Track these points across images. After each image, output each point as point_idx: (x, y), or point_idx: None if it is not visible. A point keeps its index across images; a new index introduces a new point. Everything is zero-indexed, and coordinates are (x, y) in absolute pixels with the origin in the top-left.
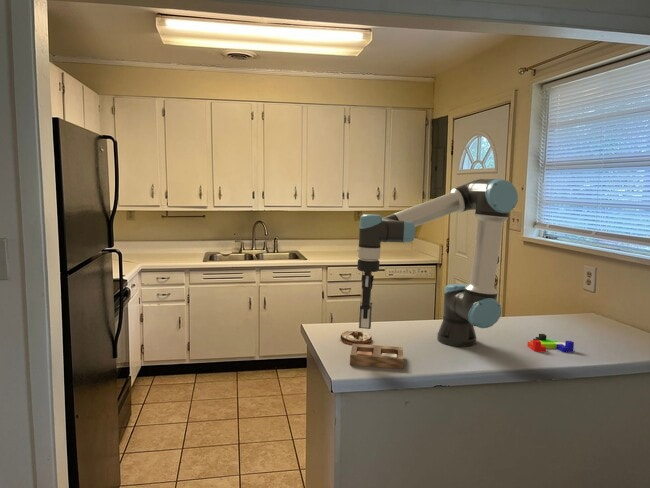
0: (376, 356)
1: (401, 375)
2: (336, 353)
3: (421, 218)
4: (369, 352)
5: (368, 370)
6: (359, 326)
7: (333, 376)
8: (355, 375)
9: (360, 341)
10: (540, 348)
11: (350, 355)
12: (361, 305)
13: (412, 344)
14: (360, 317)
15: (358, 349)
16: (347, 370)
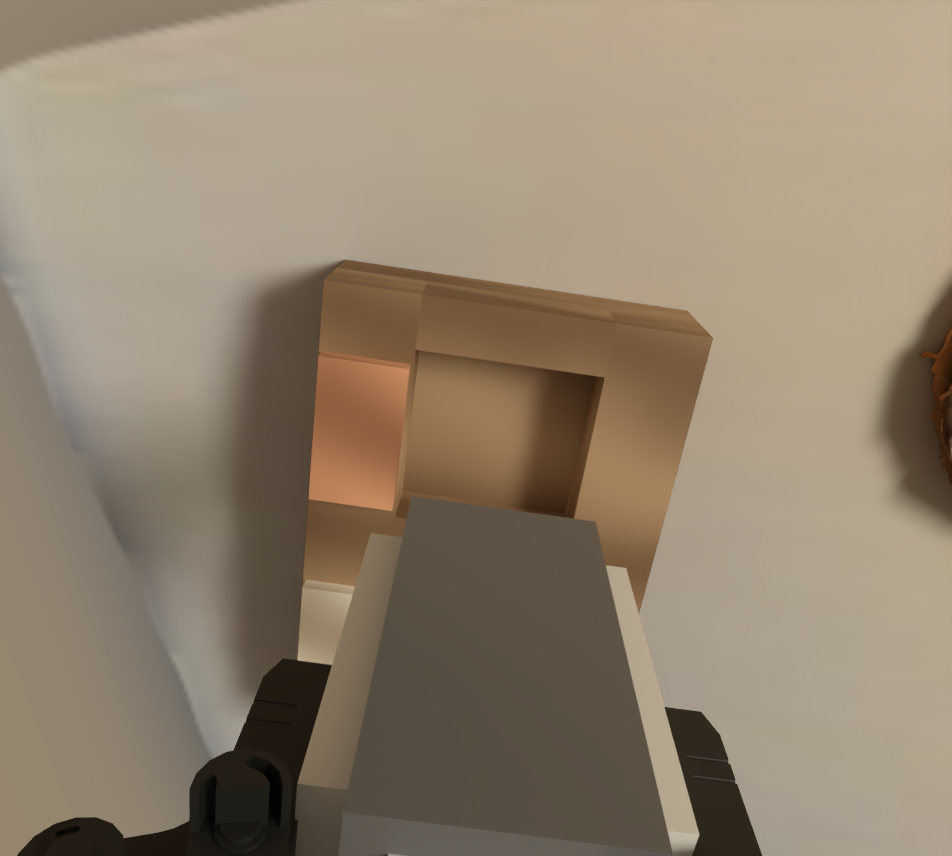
0: (318, 537)
1: (180, 646)
2: (672, 127)
3: None
4: (379, 488)
5: (234, 419)
6: (409, 516)
7: (11, 74)
8: (92, 296)
9: (942, 422)
10: None
11: (325, 282)
12: (355, 842)
13: (877, 824)
14: (389, 618)
15: (596, 382)
16: (196, 228)
